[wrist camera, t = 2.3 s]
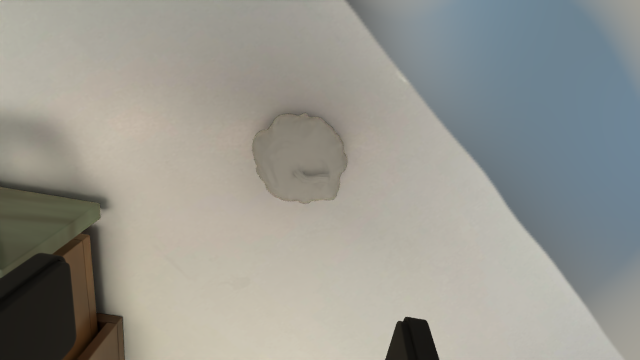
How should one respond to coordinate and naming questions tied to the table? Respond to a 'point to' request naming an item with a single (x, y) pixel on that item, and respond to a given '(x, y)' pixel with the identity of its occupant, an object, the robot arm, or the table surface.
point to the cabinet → (106, 340)
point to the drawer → (53, 247)
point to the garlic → (300, 158)
